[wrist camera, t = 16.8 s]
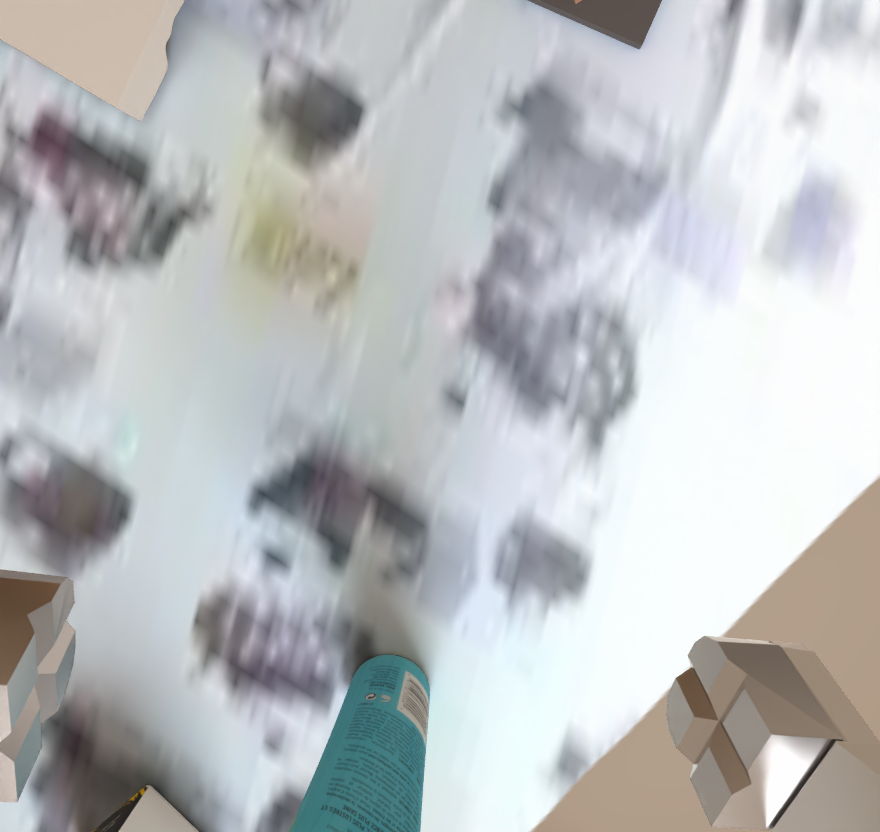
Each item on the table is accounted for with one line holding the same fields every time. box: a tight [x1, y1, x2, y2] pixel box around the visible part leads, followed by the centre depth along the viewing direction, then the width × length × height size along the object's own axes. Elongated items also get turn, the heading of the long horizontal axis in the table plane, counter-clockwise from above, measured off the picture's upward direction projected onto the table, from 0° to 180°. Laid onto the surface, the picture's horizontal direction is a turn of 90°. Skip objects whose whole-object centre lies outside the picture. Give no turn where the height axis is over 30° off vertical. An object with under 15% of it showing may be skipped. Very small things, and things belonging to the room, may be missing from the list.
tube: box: [289, 654, 430, 832], centre depth 34 cm, size 7×5×19 cm, turn 60°
